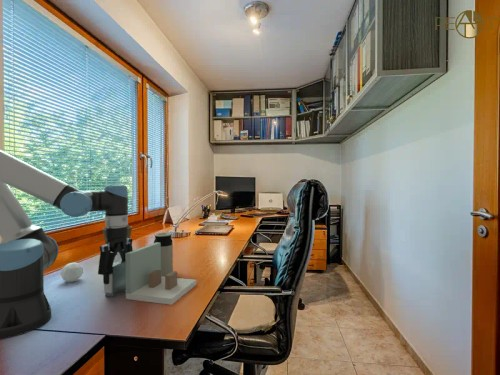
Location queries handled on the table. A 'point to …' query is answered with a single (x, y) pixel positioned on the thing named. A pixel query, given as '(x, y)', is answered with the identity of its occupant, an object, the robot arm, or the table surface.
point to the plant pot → (126, 237)
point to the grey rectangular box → (118, 278)
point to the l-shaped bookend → (152, 277)
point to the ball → (71, 272)
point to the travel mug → (165, 252)
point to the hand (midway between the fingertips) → (117, 287)
